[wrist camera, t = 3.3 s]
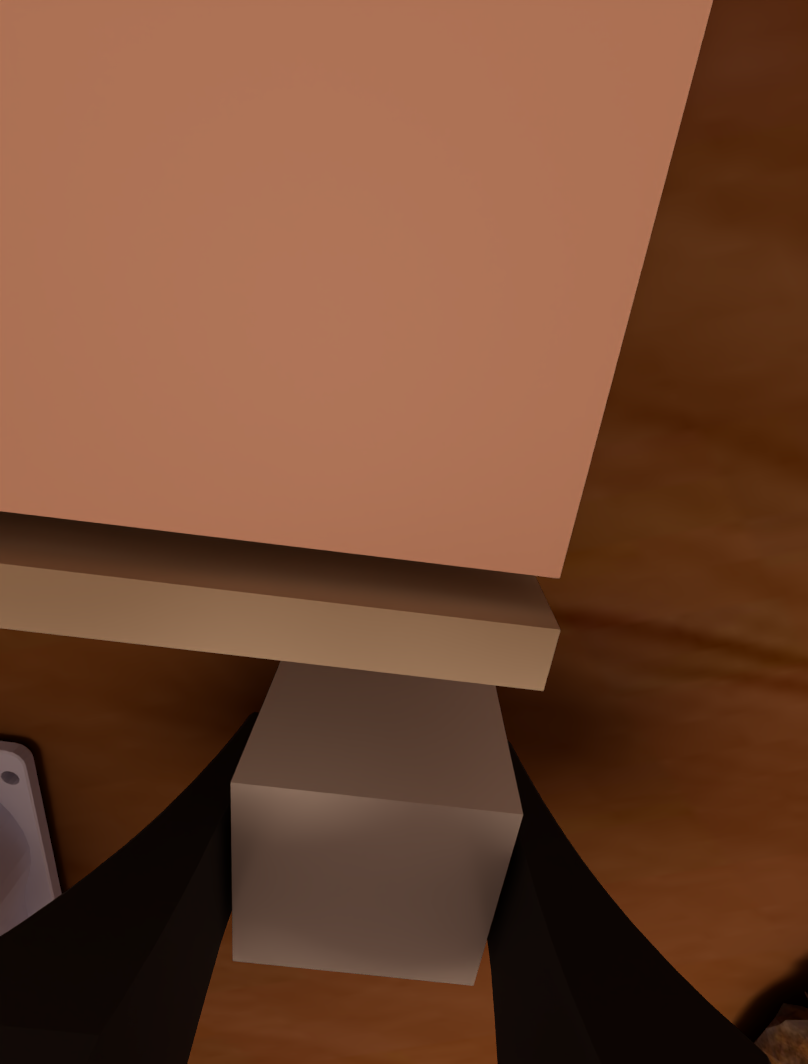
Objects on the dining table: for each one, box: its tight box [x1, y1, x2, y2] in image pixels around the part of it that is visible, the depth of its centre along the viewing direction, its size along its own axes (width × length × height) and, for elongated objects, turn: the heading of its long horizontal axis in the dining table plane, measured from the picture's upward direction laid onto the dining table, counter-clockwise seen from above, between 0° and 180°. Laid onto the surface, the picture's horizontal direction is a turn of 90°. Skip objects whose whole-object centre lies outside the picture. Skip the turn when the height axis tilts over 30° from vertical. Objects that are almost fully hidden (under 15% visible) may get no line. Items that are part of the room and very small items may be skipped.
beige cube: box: [231, 661, 523, 986], centre depth 12 cm, size 5×5×5 cm
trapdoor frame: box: [0, 511, 560, 691], centre depth 7 cm, size 13×16×6 cm
